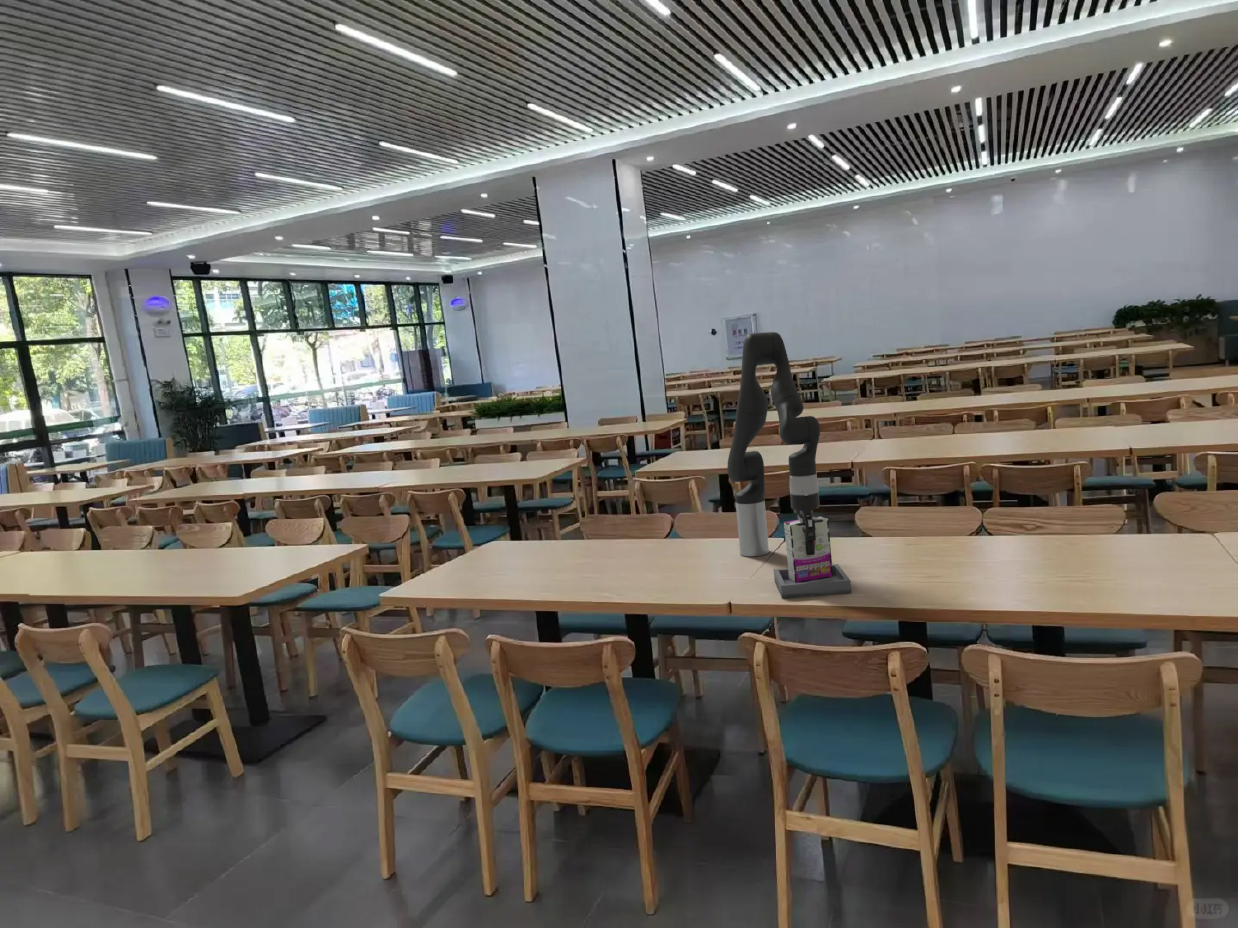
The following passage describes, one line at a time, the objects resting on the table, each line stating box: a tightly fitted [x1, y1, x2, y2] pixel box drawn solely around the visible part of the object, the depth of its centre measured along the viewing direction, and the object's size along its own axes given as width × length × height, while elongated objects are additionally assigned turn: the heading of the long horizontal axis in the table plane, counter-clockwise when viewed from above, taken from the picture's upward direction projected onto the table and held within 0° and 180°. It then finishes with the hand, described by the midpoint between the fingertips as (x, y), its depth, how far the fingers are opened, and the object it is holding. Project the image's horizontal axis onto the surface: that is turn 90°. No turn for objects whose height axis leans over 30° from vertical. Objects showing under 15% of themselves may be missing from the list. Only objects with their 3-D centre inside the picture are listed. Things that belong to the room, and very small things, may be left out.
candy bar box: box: [783, 515, 833, 583], centre depth 216 cm, size 11×5×16 cm, turn 101°
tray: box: [773, 563, 852, 599], centre depth 217 cm, size 16×18×4 cm
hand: (808, 551), depth 216 cm, fingers closed on candy bar box, 5 cm apart
